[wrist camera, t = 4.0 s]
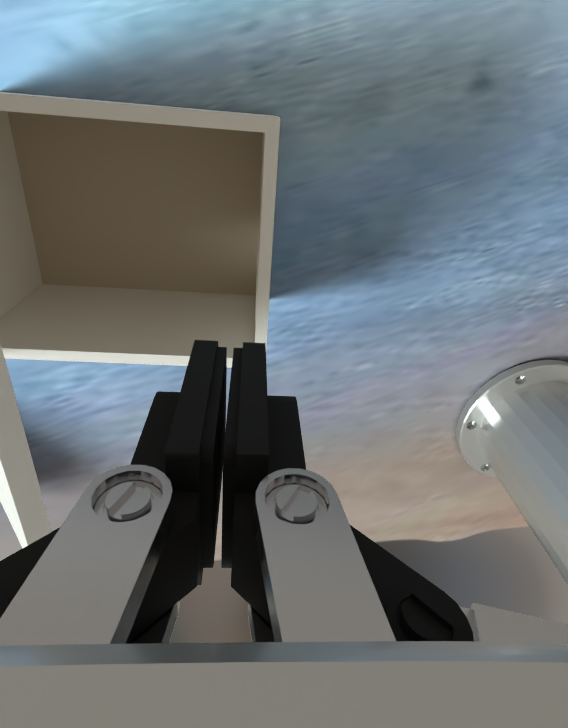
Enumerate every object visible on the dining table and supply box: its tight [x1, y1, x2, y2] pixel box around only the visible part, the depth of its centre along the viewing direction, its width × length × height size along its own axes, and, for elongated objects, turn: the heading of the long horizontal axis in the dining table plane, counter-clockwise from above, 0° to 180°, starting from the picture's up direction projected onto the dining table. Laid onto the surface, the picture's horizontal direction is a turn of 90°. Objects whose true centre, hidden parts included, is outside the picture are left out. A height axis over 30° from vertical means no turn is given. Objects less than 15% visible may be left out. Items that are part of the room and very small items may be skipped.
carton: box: [0, 92, 281, 368], centre depth 25 cm, size 16×12×10 cm
